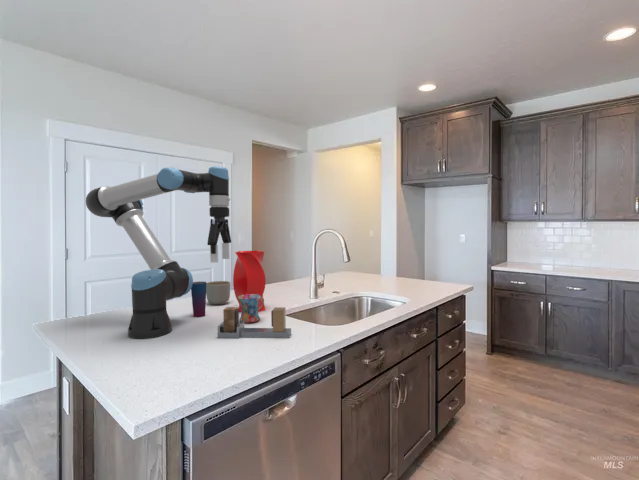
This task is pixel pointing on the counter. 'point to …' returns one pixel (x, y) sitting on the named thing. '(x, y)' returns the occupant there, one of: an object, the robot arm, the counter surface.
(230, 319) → the block
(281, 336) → the rail
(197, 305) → the cup
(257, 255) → the vase
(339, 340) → the counter surface
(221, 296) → the planter
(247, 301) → the mug
